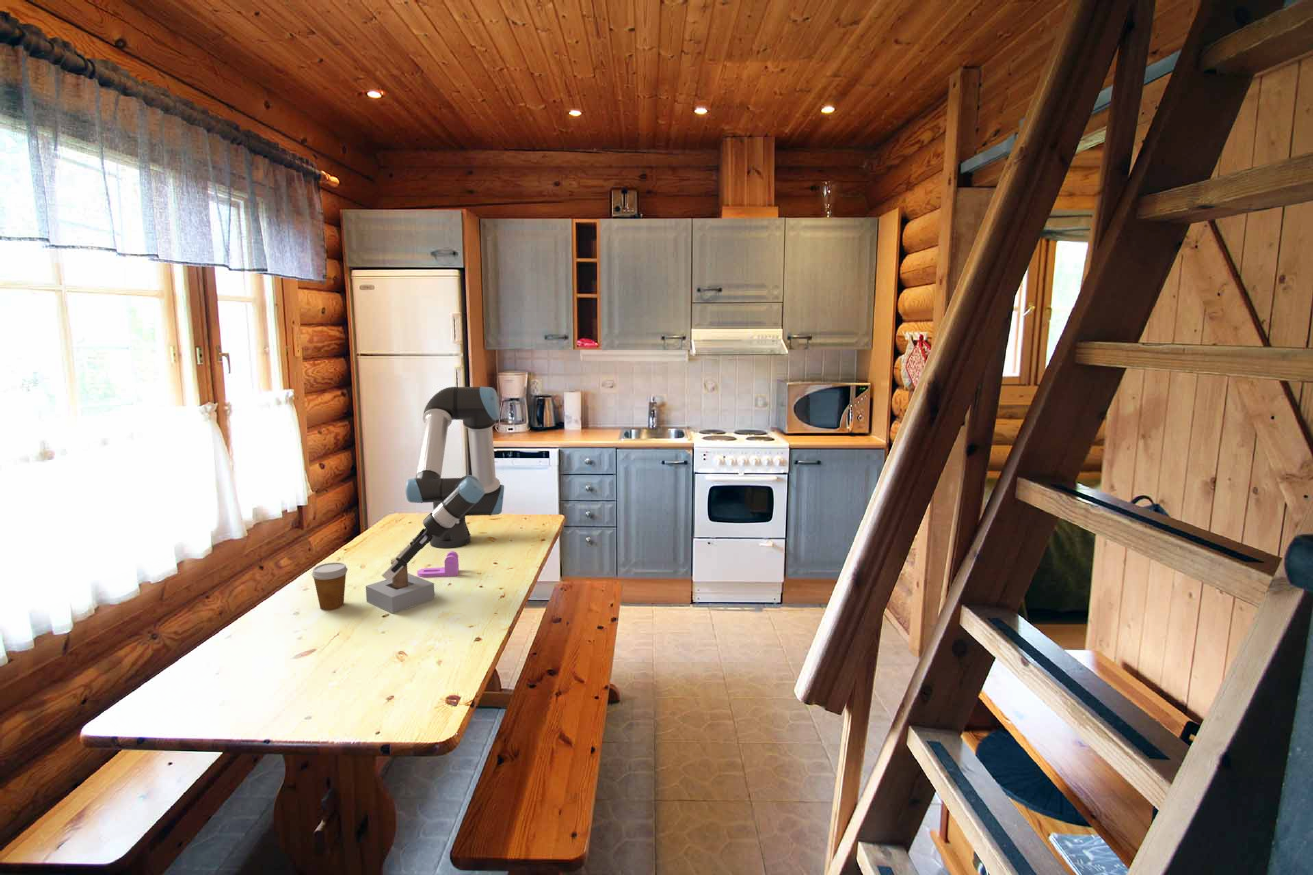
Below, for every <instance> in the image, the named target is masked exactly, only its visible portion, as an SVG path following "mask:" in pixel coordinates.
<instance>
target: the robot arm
mask: <svg viewBox="0 0 1313 875" xmlns="http://www.w3.org/2000/svg"><path fill="white" fill-rule="evenodd" d="M498 396H499V395H498V393H497V390H495V388H494V387H490V386H482V385H481V386H450V387H445V388H443V389H440V390H439V391H438V392H436V393H435V394H434V395H433V396H432V397H431V398H430V399H429V401H428V402H427V403H426V405H425V407H424V410H423V414H422V421H423V423H424V426H423V427H424V428H423V433H422V439H421V444H420V450H419V456H418V461H417V468H416V473H415V478H409V479H408V480H407V481H406V484H405V497H406V500H407V501H408V502H409V503H414V504H415V503H417V504H424V503H425V504H426V503H432V505H433V506H432V508H433V510H432V512H430V513H429V514H428V515H427V516H426V517H425V518H424V519H423V521H422V524H423V526H424V528H422V529H421V530H420V531H419V532H418V534H417V535H416V536H415V537H414V538H412V541H410V542H409V544H408V545H406V547H404V549H402V551H400V552H399V553H398V554H397V555H396V556H395V557H397V558H396V561H395V562H394V563H393V564H392V565H390V567H388V569H386V570H385V571H384V572H383V573H382V574H381V577H383V579H384V580H387V581H390V580H391V579H392V578H393V577H394V576H395V575H396V574H397V573H398V572H399V571H400V570H401V569H402V568H403V567H404V566H406V565H407V566H408V564H409V563H410V562H411V561H412V559H414V557H415V556H416V555H417V554H418V553H419V552H420V551H421V550H422V549H424V548H425V547H426V545H427V544H429V545H430V546H431V547H434V548H438V549H450V548H451V549H452V548H458V547H463V546H466V545H468V544H469V543H470V542H471V540H472V539H471V538H472V537H471V533H470V530H469V527H468V524H467V523H466V517H469V516H470V517H471V516H472V517H473V516H489V517H491V516H497V515H498V516H499V515H500V514H501V513H502V511H503V504H504V503H503V502H504V494H505V484H504V485H503V484H501V481H500V479H498V478H497V477H496V463H495V448H494V434H493V432H494V431H493V427H494V426H495V425H496V424H497V420H499V419H500V417H501V408H500V403H499V402H500V401H499V397H498ZM454 420H455V421H457V420H458V421H461V420H462V424H463V426H464V427H465V428H466V429H467V432H468V444H469V446H468V447H469V454H470V455H469V456H470V467H471V474H469V475H468V474H467V475H465V476H462V477H451V478H450V477H443V478H442V471H443V464H444V459H445V458H444V457H445V451H446V450H445V449H446V443H447V436H448V431H449V430H448V429H449V427H450V426H451V424H452V422H453V421H454ZM398 557H400V558H398ZM404 560H405V561H406V562H405V561H404Z"/></svg>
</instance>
